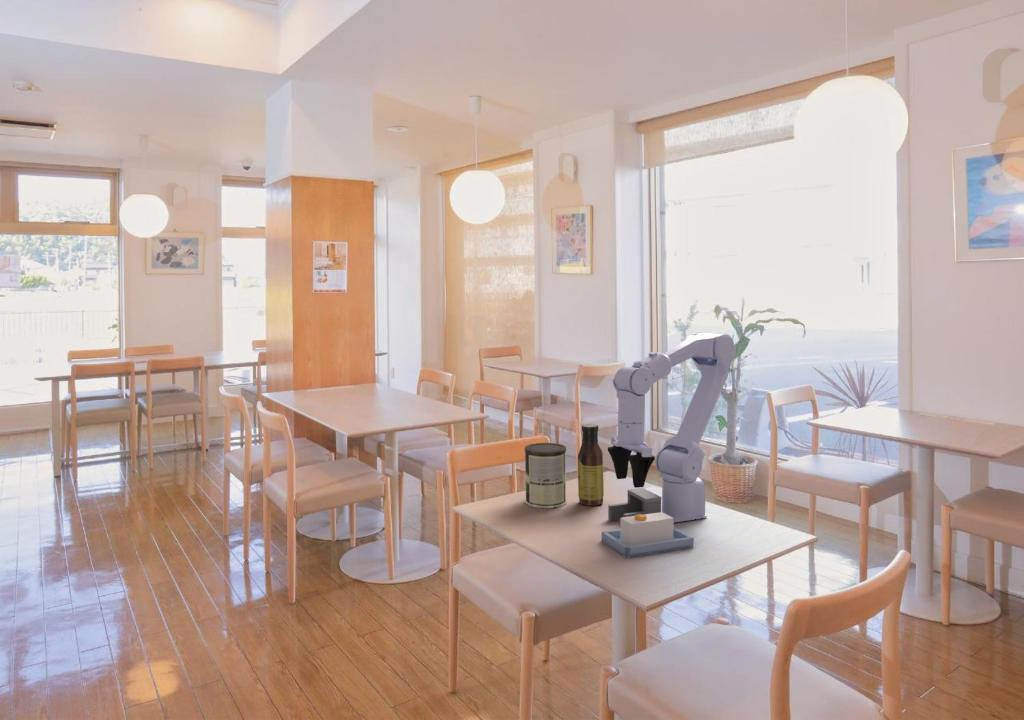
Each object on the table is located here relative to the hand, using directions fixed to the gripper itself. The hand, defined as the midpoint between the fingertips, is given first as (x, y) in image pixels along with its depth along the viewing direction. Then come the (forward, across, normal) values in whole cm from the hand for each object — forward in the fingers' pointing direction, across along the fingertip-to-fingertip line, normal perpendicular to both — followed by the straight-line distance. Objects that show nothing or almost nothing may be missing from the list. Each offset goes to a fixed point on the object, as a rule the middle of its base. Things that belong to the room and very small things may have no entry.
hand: (629, 482), depth 159 cm
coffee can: (+11, -25, -9) cm, 29 cm away
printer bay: (+10, -3, +3) cm, 11 cm away
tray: (+10, +10, -1) cm, 14 cm away
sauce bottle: (+10, -20, +1) cm, 23 cm away
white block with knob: (+10, +10, -1) cm, 14 cm away
